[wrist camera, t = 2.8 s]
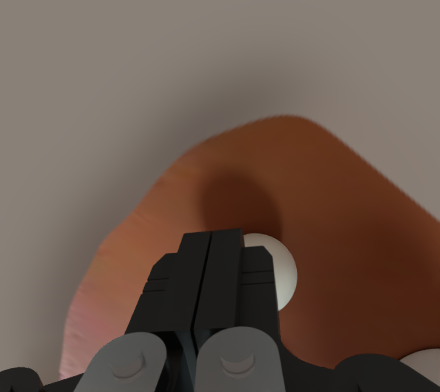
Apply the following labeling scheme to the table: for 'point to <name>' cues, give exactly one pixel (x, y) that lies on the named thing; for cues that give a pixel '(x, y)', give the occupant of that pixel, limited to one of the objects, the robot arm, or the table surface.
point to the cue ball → (277, 265)
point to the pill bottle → (425, 363)
